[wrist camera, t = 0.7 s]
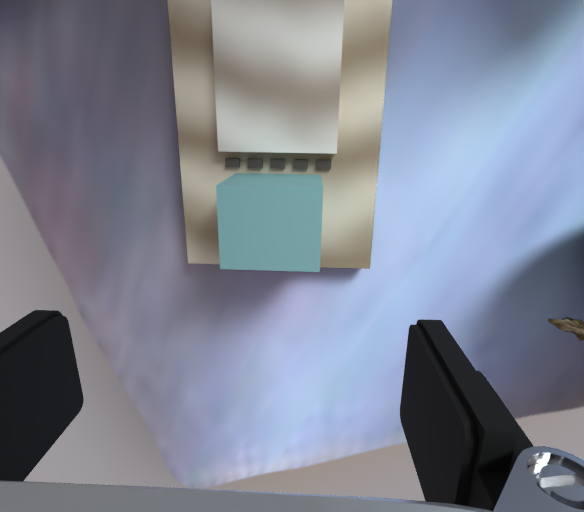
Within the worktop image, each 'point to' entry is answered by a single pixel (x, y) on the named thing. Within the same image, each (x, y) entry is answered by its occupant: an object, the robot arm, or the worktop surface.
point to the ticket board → (281, 108)
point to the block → (270, 222)
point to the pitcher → (570, 326)
